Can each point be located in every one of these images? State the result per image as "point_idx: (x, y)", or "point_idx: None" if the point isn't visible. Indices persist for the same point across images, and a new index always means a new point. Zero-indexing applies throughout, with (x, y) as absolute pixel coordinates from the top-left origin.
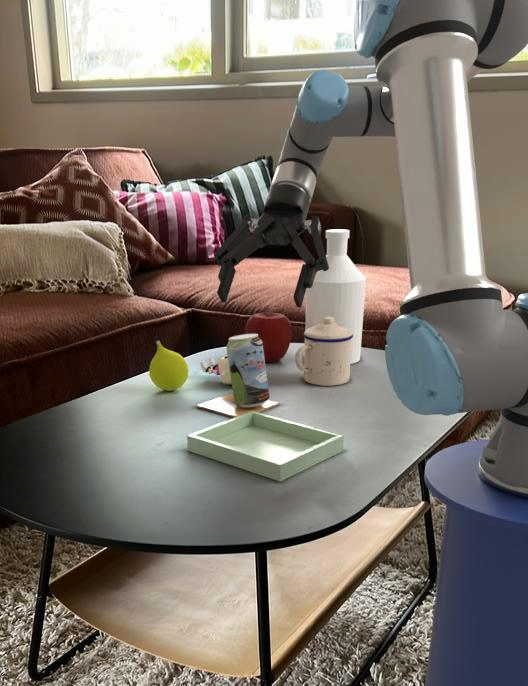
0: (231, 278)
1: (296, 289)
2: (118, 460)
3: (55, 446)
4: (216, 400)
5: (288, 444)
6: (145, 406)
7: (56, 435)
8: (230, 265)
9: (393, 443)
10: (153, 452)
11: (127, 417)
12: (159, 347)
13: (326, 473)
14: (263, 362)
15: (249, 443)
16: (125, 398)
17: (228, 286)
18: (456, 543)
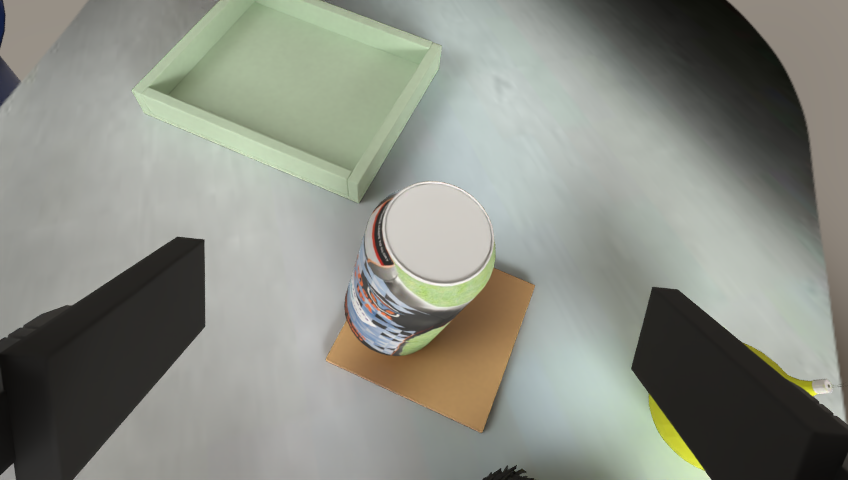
0: (714, 445)
1: (173, 255)
2: (528, 23)
3: (660, 49)
4: (503, 333)
5: (256, 108)
6: (655, 265)
7: (697, 87)
8: (779, 414)
9: (25, 168)
10: (492, 55)
11: (644, 191)
12: (799, 380)
13: (177, 31)
14: (357, 258)
15: (334, 100)
16: (742, 311)
17: (679, 394)
18: (5, 64)
